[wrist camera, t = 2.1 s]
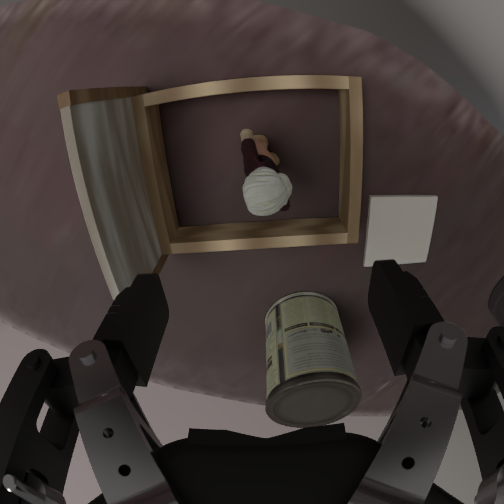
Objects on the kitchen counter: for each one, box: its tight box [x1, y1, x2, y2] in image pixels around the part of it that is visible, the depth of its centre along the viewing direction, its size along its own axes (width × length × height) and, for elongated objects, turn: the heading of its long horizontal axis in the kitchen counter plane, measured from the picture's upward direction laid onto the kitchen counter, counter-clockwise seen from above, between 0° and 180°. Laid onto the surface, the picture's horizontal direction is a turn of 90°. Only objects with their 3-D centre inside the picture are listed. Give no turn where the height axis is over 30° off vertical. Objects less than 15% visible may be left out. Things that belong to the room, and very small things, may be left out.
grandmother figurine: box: [240, 129, 292, 216], centre depth 24 cm, size 8×4×13 cm, turn 40°
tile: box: [363, 195, 438, 267], centre depth 33 cm, size 9×9×1 cm
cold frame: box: [57, 75, 363, 300], centre depth 24 cm, size 21×18×14 cm
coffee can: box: [265, 292, 362, 428], centre depth 34 cm, size 10×10×14 cm
